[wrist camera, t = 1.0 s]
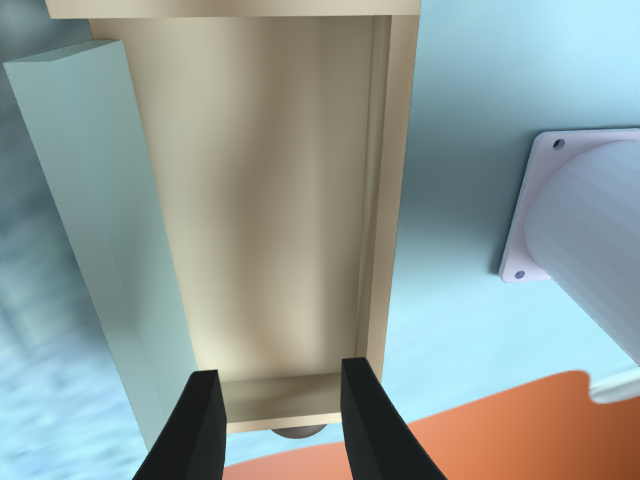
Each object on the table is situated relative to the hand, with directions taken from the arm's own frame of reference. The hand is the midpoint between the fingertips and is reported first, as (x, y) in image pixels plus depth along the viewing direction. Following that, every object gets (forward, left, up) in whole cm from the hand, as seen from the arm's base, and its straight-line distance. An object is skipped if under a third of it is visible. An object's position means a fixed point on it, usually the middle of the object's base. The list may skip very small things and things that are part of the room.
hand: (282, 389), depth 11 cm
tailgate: (+6, 0, -8) cm, 10 cm away
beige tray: (+1, 0, -9) cm, 9 cm away
